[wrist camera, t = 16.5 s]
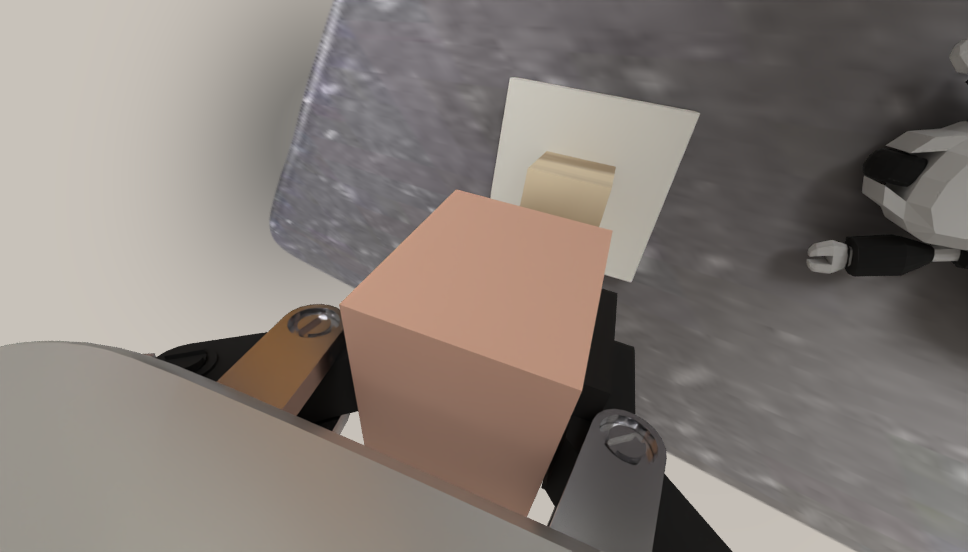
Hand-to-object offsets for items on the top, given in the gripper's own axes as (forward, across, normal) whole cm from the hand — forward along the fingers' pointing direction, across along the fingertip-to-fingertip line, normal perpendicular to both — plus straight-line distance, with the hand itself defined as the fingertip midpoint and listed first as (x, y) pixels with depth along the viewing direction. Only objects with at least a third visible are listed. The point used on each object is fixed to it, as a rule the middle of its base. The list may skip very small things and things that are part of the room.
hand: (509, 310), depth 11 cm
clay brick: (0, 0, -1) cm, 1 cm away
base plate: (+15, 0, 0) cm, 15 cm away
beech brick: (+14, 0, +1) cm, 14 cm away
